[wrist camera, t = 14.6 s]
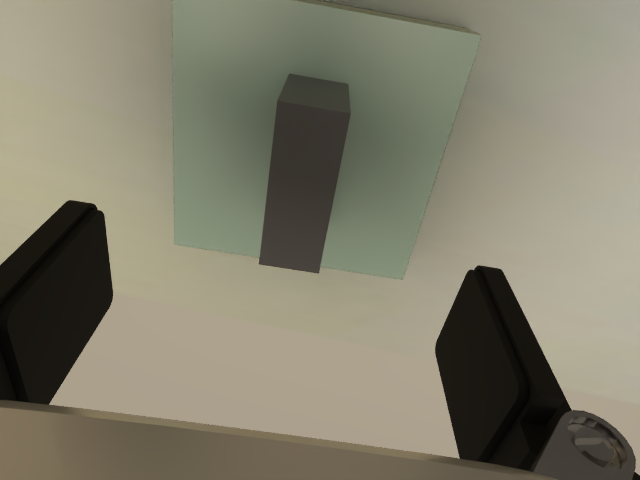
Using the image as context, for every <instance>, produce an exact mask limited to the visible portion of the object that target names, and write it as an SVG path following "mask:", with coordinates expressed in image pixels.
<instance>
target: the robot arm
mask: <svg viewBox="0 0 640 480" xmlns="http://www.w3.org/2000/svg"><path fill="white" fill-rule="evenodd" d="M112 298H113V289H112V280H111V271H110V262H109V253H108V245H107V236H106V227H105V218H104V214H103V212H102V211H98V210H97V207H96V205H94V204H91V203H85V202H79V201H73V200H69V201H67V202H66V203H65V204H64V205H63V206H62V207H60V208H59V209H58V210H57V211H56V212H55V213H54V214H53V215H52V216H51V217H50V218H49V219H48V220H47V221H46V222H45V223H44V224H43V225H42V226H41V227H40V228H39V229H38V230H37V231H35V232H34V233H33V234H32V235H31V236H30V237H29V238H28V239H27V240H26V241H25V242H24V243H23V244H22V245H21V246H20V247H19V248H18V249H17V250H16V251H15V252H14V253H13V254H12V255H10V256H9V257H8V258H7V259H6V260H5V261H4V262H3V263H2V264H1V265H0V480H640V475H638V474H637V473H636V472H634V471H635V464H636V463H635V462H636V459H635V456H634V453H633V450H632V448H631V446H630V445H629V443H628V442H627V440H626V439H625V438H624V437H623V435H622V434H621V433H620V432H619V431H618V430H617V429H616V428H614V427H613V426H612V425H611V424H609V423H608V422H607V421H605V420H604V419H602V418H600V417H598V416H596V415H594V414H591V413H588V412H585V411H577V410H573V411H572V410H571V408H570V406H569V404H568V402H567V400H566V398H565V396H564V394H563V392H562V390H561V388H560V386H559V384H558V382H557V380H556V378H555V376H554V374H553V372H552V370H551V368H550V366H549V364H548V362H547V360H546V358H545V356H544V354H543V352H542V350H541V347H540V345H539V343H538V341H537V339H536V337H535V335H534V333H533V331H532V329H531V327H530V325H529V323H528V321H527V319H526V317H525V315H524V313H523V311H522V309H521V307H520V305H519V303H518V301H517V299H516V297H515V295H514V293H513V291H512V289H511V287H510V285H509V283H508V281H507V279H506V277H505V275H504V273H503V271H502V270H501V269H498V268H492V267H486V266H477V267H476V268H475V269H474V270H469V271H468V272H467V274H466V276H465V278H464V281H463V283H462V285H461V287H460V290H459V292H458V294H457V296H456V299H455V301H454V303H453V305H452V308H451V310H450V312H449V314H448V317H447V319H446V321H445V323H444V326H443V328H442V330H441V333H440V335H439V337H438V339H437V342H436V347H435V353H436V358H437V363H438V367H439V371H440V376H441V380H442V384H443V388H444V392H445V397H446V401H447V406H448V410H449V414H450V418H451V423H452V427H453V431H454V436H455V440H456V444H457V448H458V453H459V457H460V459H457V458H451V457H445V456H438V455H432V454H425V453H418V452H410V451H403V450H396V449H388V448H382V447H374V446H367V445H359V444H352V443H345V442H337V441H330V440H323V439H316V438H307V437H300V436H293V435H285V434H278V433H270V432H262V431H255V430H247V429H240V428H232V427H224V426H216V425H209V424H201V423H193V422H186V421H178V420H170V419H162V418H154V417H146V416H138V415H130V414H122V413H114V412H106V411H99V410H91V409H82V408H73V407H64V406H55V405H49V403H50V402H51V400H52V398H53V397H54V395H55V394H56V392H57V390H58V389H59V387H60V386H61V384H62V382H63V381H64V379H65V378H66V376H67V374H68V373H69V371H70V370H71V368H72V366H73V365H74V363H75V362H76V360H77V358H78V357H79V355H80V354H81V352H82V350H83V349H84V347H85V346H86V344H87V342H88V341H89V339H90V338H91V336H92V334H93V333H94V331H95V330H96V328H97V326H98V325H99V323H100V322H101V320H102V318H103V317H104V315H105V313H106V312H107V310H108V309H109V307H110V305H111V302H112Z"/></svg>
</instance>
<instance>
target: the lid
mask: <svg viewBox="0 0 640 480" xmlns="http://www.w3.org/2000/svg"><path fill="white" fill-rule="evenodd" d="M172 28H173V156H174V245H180V246H187V247H193V248H200V249H206V250H213V251H219V252H226V253H232V254H239V255H245V256H252V257H258V258H259V264H261V265H267V266H274V267H280V268H287V269H293V270H300V271H306V272H313V273H319V270H320V267H323V268H330V269H336V270H343V271H349V272H356V273H362V274H369V275H375V276H381V277H388V278H394V279H401V280H403V277H404V274H405V271H406V268H407V265H408V262H409V259H410V255H411V252H412V249H413V246H414V243H415V240H416V237H417V234H418V231H419V228H420V225H421V222H422V219H423V215H424V212H425V209H426V206H427V203H428V200H429V197H430V194H431V191H432V188H433V185H434V182H435V179H436V175H437V172H438V169H439V166H440V163H441V160H442V157H443V154H444V151H445V148H446V145H447V142H448V138H449V135H450V132H451V129H452V126H453V123H454V120H455V117H456V114H457V111H458V108H459V105H460V102H461V98H462V95H463V92H464V89H465V86H466V83H467V80H468V77H469V74H470V71H471V68H472V65H473V62H474V58H475V55H476V52H477V49H478V46H479V43H480V40H481V37H482V35H480V34H478V33H476V32H474V31H472V30H470V29H468V28H462V27H457V26H452V25H446V24H441V23H436V22H430V21H425V20H420V19H414V18H409V17H404V16H398V15H393V14H388V13H382V12H377V11H372V10H366V9H361V8H356V7H351V6H345V5H340V4H335V3H329V2H324V1H319V0H172Z"/></svg>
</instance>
